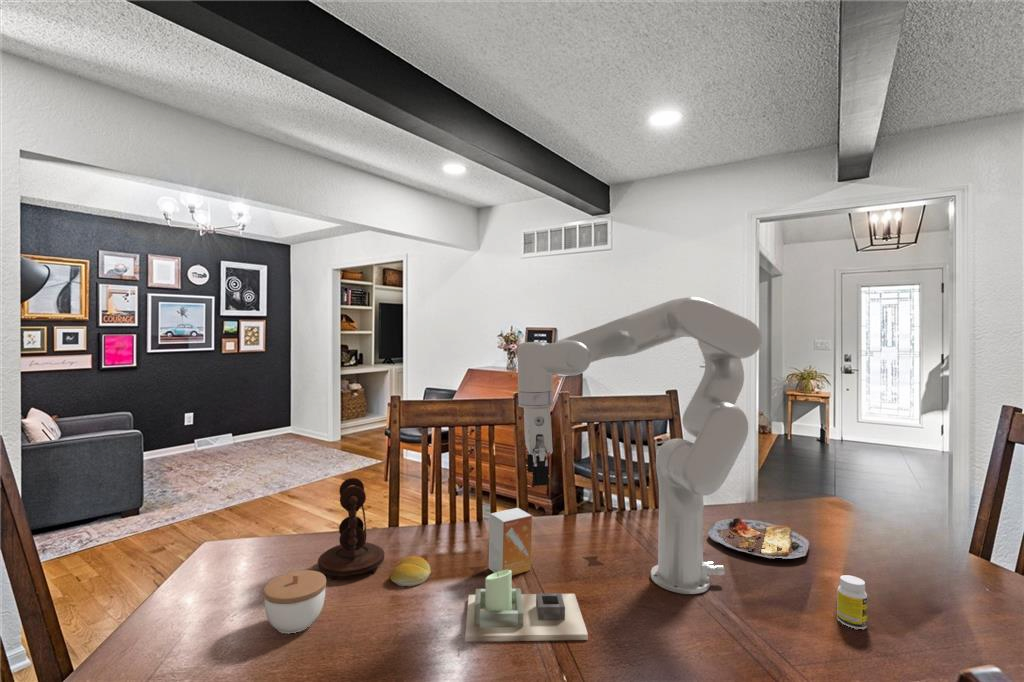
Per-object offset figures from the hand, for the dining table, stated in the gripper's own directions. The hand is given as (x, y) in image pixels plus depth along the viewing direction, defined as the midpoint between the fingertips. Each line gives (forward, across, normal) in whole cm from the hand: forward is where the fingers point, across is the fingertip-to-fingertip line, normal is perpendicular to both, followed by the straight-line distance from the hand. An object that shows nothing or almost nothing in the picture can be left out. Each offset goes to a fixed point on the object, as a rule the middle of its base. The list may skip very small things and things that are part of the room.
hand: (537, 478), depth 106 cm
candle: (+22, -12, +10) cm, 27 cm away
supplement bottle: (+26, -17, -58) cm, 66 cm away
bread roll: (+23, +6, +28) cm, 37 cm away
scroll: (+23, +12, +43) cm, 50 cm away
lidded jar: (+22, -11, +48) cm, 54 cm away
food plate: (+27, +20, -62) cm, 70 cm away
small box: (+24, +9, +6) cm, 26 cm away
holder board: (+24, -11, +5) cm, 27 cm away
